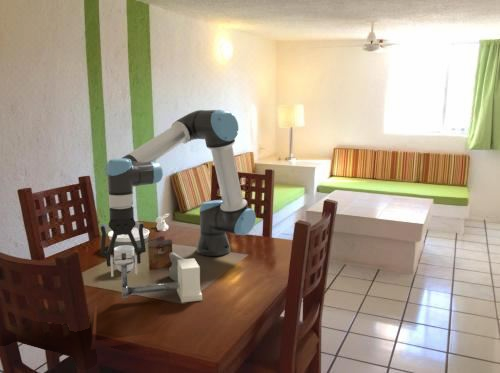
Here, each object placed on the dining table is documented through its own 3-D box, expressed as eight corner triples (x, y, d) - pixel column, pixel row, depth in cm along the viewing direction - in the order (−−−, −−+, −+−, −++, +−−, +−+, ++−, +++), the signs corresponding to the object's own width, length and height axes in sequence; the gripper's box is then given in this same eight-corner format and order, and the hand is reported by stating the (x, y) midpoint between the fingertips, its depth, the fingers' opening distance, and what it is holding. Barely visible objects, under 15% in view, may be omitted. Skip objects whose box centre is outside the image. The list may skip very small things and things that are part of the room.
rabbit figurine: (154, 229, 248) (153, 212, 246) (167, 228, 251) (167, 211, 249) (158, 235, 237) (158, 216, 235) (173, 233, 240) (172, 215, 238)
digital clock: (195, 283, 171) (195, 260, 169) (175, 286, 168) (174, 262, 166) (185, 271, 183) (185, 249, 182) (166, 274, 180) (166, 251, 179)
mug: (140, 273, 181) (139, 250, 179) (120, 277, 176) (119, 253, 175) (131, 265, 190) (130, 244, 188) (112, 269, 185) (111, 247, 184)
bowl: (158, 247, 215) (158, 230, 214) (128, 258, 199) (127, 239, 198) (130, 241, 225) (129, 225, 223) (99, 251, 209) (98, 233, 208)
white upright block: (195, 287, 166) (195, 257, 165) (202, 300, 155) (201, 267, 153) (176, 289, 164) (175, 259, 162) (181, 302, 153) (181, 270, 151)
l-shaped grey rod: (178, 287, 162) (177, 244, 159) (181, 294, 155) (180, 249, 153) (114, 294, 155) (112, 249, 153) (114, 302, 149) (112, 255, 146)
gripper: (151, 202, 155) (153, 267, 158) (89, 205, 149) (92, 273, 152) (153, 206, 147) (155, 274, 151) (88, 210, 142) (92, 281, 145)
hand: (124, 274), depth 152 cm, fingers closed on l-shaped grey rod, 7 cm apart
